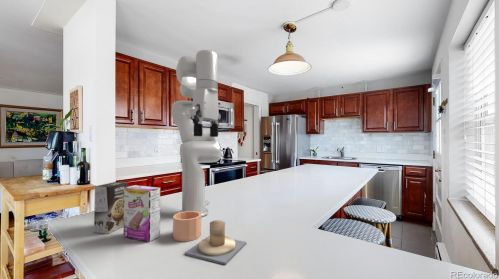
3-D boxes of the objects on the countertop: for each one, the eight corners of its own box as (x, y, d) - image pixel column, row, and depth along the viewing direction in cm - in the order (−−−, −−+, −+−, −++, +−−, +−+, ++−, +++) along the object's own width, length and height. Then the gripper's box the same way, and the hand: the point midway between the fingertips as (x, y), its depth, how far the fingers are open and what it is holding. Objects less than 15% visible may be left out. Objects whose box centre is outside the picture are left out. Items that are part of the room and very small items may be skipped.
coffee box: (109, 234, 76) (109, 186, 77) (93, 232, 78) (93, 185, 78) (128, 224, 85) (129, 181, 85) (114, 223, 87) (114, 181, 87)
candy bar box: (122, 237, 74) (122, 187, 74) (134, 232, 78) (134, 184, 79) (149, 243, 70) (150, 190, 70) (160, 236, 75) (161, 187, 75)
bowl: (185, 228, 81) (185, 209, 81) (206, 232, 78) (206, 213, 78) (167, 238, 73) (167, 217, 73) (189, 243, 70) (189, 221, 70)
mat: (210, 236, 75) (210, 234, 75) (246, 243, 70) (246, 241, 70) (184, 254, 63) (184, 252, 63) (225, 264, 58) (225, 262, 58)
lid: (211, 236, 73) (211, 215, 73) (241, 242, 69) (241, 219, 69) (191, 251, 64) (191, 226, 64) (224, 259, 59) (224, 232, 60)
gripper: (211, 93, 88) (211, 137, 88) (181, 82, 72) (181, 136, 72) (228, 91, 85) (227, 136, 85) (201, 80, 69) (200, 135, 69)
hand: (206, 136), depth 79 cm, fingers open, 9 cm apart
